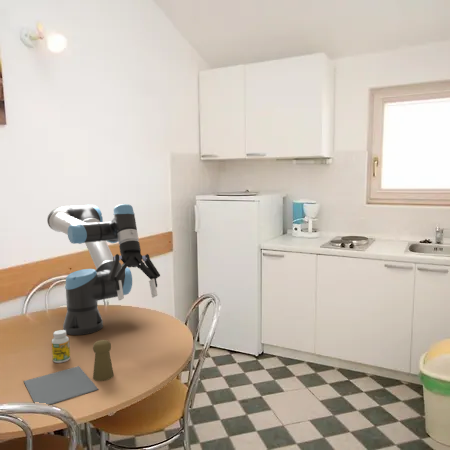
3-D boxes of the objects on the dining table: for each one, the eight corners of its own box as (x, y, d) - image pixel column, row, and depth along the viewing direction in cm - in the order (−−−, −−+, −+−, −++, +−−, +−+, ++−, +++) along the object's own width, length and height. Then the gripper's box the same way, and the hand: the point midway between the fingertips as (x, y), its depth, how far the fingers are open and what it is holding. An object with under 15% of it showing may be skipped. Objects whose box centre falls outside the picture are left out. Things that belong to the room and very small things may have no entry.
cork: (107, 382, 118) (106, 346, 117) (89, 380, 120) (87, 344, 118) (117, 372, 124) (115, 338, 123) (99, 370, 125) (97, 336, 124)
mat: (23, 382, 119) (23, 381, 119) (78, 366, 128) (78, 365, 128) (37, 408, 104) (37, 407, 104) (98, 389, 114) (98, 388, 114)
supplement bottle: (71, 355, 137) (69, 328, 136) (68, 362, 132) (67, 334, 131) (54, 357, 136) (52, 329, 135) (51, 364, 131) (49, 335, 130)
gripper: (102, 238, 141) (110, 297, 134) (162, 240, 158) (172, 292, 151) (93, 246, 146) (101, 303, 139) (152, 247, 163) (162, 298, 156)
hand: (138, 298), depth 145 cm, fingers open, 13 cm apart
